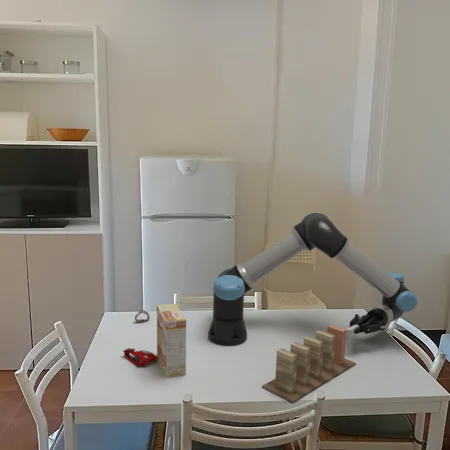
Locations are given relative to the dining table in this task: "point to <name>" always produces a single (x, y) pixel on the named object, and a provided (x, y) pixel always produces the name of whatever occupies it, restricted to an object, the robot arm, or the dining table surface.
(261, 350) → the dining table surface
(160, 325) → the coffeecake box
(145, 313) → the wristwatch
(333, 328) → the terracotta tile
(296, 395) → the board
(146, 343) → the dining table surface
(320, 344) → the maple tile
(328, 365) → the maple tile
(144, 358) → the tracker holder
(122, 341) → the dining table surface
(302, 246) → the robot arm
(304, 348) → the maple tile
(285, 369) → the maple tile
